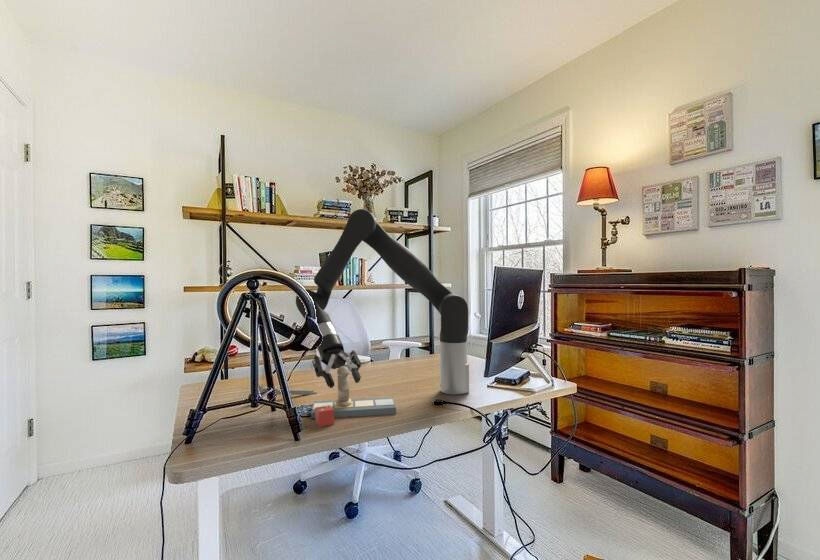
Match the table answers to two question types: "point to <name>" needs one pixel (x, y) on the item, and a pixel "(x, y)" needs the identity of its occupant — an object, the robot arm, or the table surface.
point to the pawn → (343, 387)
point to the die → (324, 415)
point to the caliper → (293, 392)
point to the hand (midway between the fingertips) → (345, 383)
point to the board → (360, 407)
